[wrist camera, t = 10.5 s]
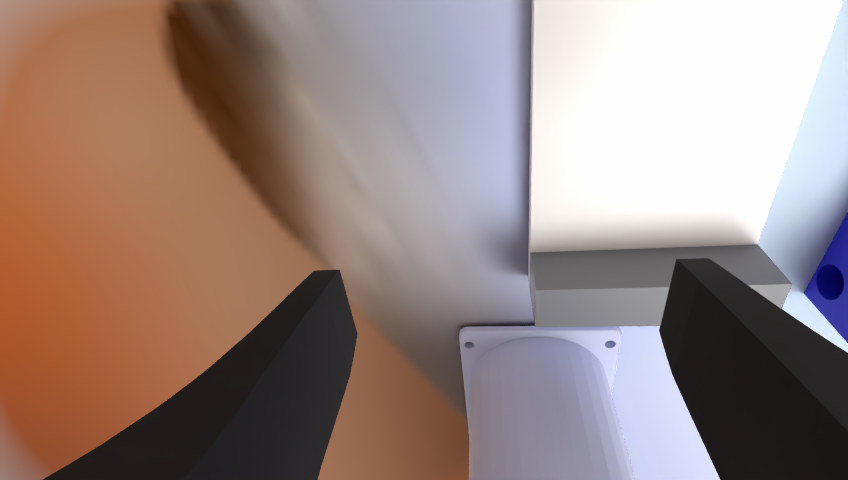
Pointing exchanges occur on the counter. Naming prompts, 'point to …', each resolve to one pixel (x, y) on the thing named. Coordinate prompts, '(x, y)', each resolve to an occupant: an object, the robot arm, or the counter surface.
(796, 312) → the counter surface
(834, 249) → the cable clip
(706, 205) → the clip dock
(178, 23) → the counter surface
